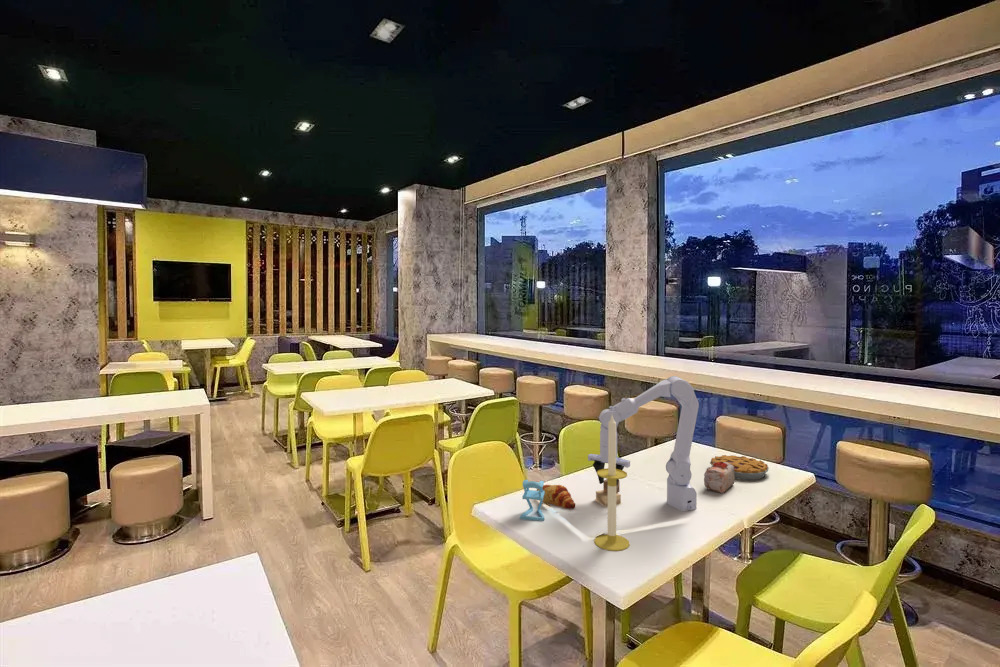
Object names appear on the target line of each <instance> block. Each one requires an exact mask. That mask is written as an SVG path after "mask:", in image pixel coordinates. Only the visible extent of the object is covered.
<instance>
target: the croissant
mask: <svg viewBox="0 0 1000 667" xmlns="http://www.w3.org/2000/svg"><path fill="white" fill-rule="evenodd" d="M536 491H539V489H536ZM543 491H545V494H544V498H543V502H542V504H545V505H546V506H547V507H551V505H554V506H557V507H560V508H563V509H568V510H569V509H570V510H574V509H575V508H576V505H577V504H576V503H575V501H574V499H573V497H572V495H571V493H570V492H569V491H568V488H567V487H566V486H564V485H561V484H545V485H543Z"/></svg>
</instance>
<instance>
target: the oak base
mask: <svg viewBox="0 0 1000 667" xmlns="http://www.w3.org/2000/svg"><path fill="white" fill-rule="evenodd" d="M595 499H596V500H597V501H599V502H600V503H602V504H603V505H605V506H608V493H604V492H603V489H602V490H596V491H595ZM621 499H622V495H621V494H620V493H619V492H618V493H617V494H616V504H621V503H622V502H621V501H622V500H621ZM597 501H596V502H597ZM600 503H599V504H600ZM603 505H602V506H603ZM621 505H622V504H621Z"/></svg>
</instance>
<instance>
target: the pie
mask: <svg viewBox="0 0 1000 667" xmlns="http://www.w3.org/2000/svg"><path fill="white" fill-rule="evenodd" d="M713 461H715V462H716V463H717V462H727V463H730V464H732V465H733V466H734V477H735V479H736V480H745V481H754V480H760V479H762V478H764V477H765V475H766V473H768V471H769V469H770V468H769V466H768V464H767V463H765V462H764V461H762V460H757V459H756V458H752V457H751V458H749V457H746V456H744V455H742V456H737V455H731V454H730V455H726V454H721V456H718V455H717V456H716V455H715V456H714V457H711V460H710V461H709V464H710V465H711V467H713Z"/></svg>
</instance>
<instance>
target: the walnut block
mask: <svg viewBox="0 0 1000 667" xmlns="http://www.w3.org/2000/svg"><path fill="white" fill-rule="evenodd" d="M602 485H603V488H602V490H603V492H604V493H608V479H606V478H605V479H604V481H603V483H602ZM617 493H618V494H619V493H620V480H619V481H618V485H617V486H616V494H617Z"/></svg>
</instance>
